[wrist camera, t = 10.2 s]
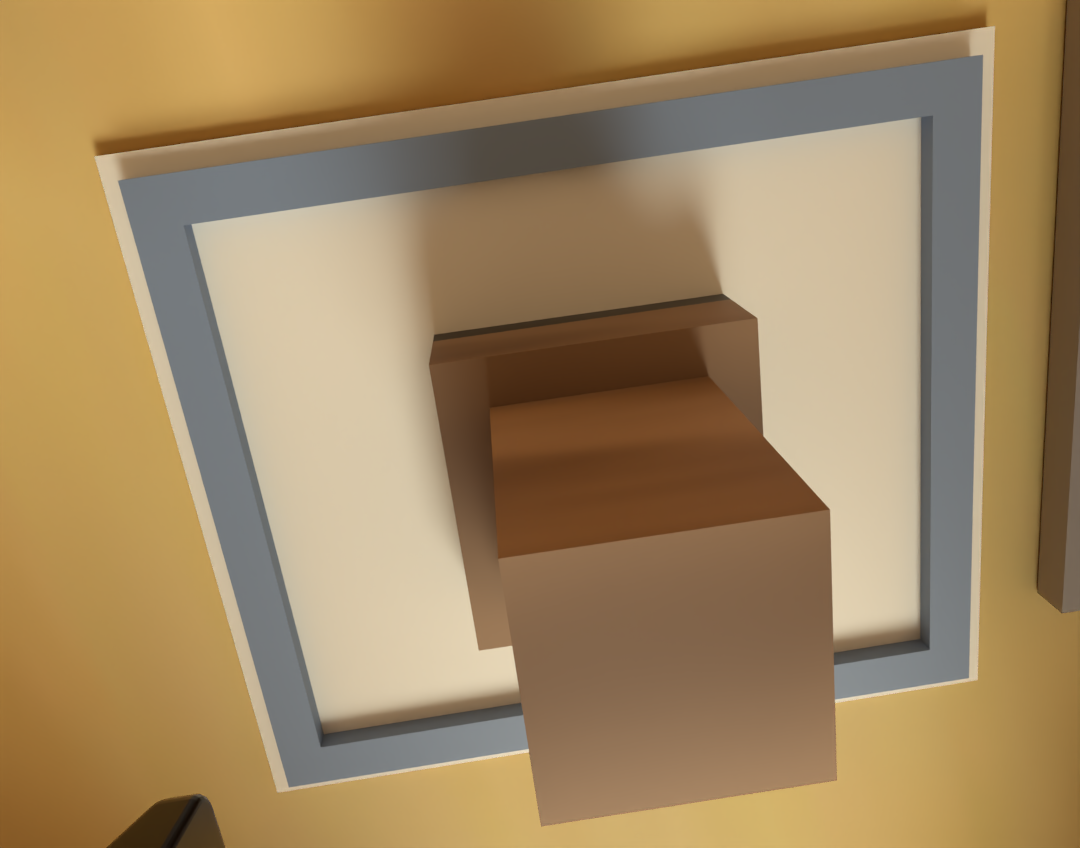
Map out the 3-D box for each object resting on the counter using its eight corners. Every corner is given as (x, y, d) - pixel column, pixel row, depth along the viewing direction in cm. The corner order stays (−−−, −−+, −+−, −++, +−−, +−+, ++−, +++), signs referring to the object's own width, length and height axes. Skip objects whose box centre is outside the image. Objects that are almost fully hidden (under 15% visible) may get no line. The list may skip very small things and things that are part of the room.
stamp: (739, 552, 17) (905, 825, 11) (478, 591, 17) (481, 892, 10) (722, 294, 16) (907, 424, 9) (433, 334, 15) (404, 498, 9)
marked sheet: (972, 674, 19) (988, 691, 18) (279, 785, 18) (273, 806, 18) (987, 27, 15) (1009, 23, 14) (99, 155, 14) (83, 157, 14)
